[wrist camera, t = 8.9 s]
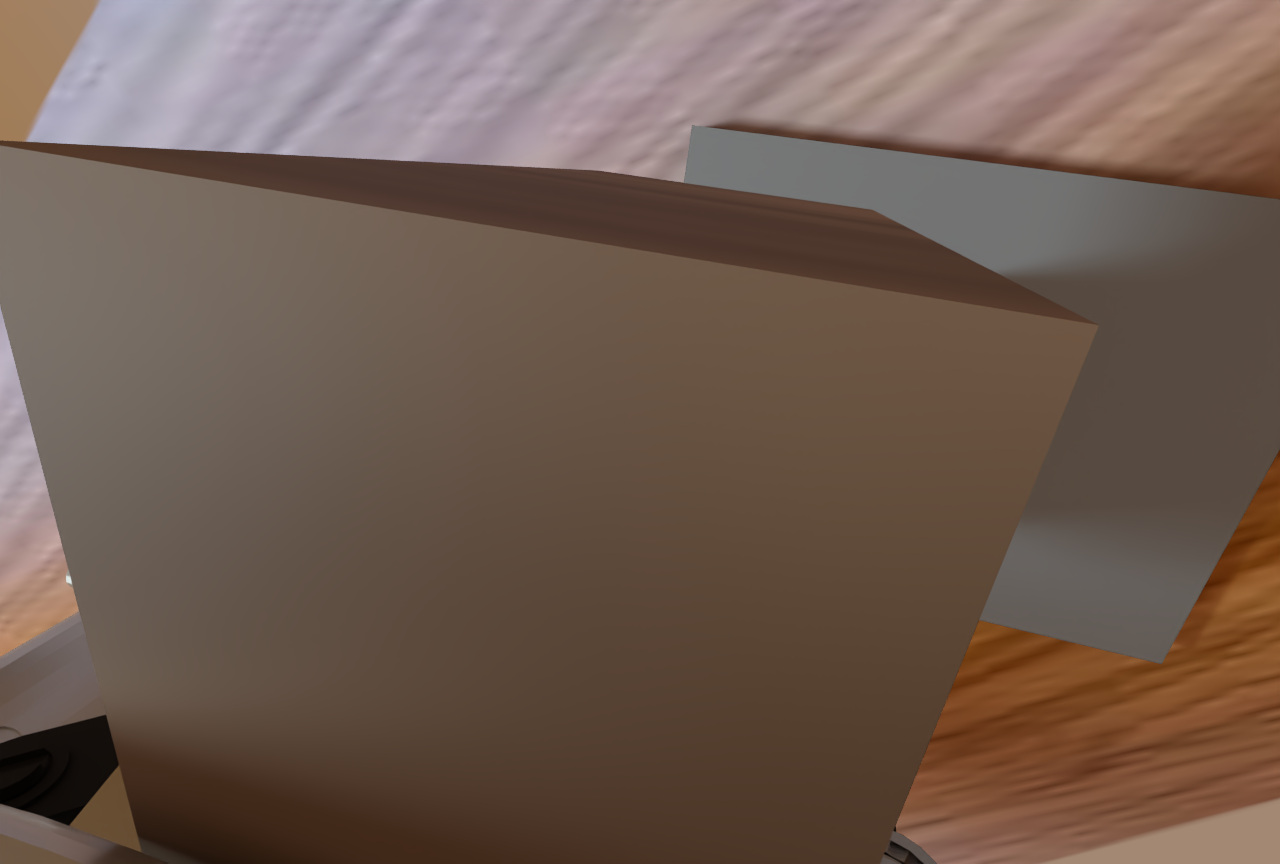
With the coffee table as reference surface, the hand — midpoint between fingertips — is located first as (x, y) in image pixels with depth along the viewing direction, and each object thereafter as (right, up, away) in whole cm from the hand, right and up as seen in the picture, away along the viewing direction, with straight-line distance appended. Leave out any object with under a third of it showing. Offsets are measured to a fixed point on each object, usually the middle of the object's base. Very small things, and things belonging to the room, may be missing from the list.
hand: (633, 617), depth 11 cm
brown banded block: (+1, +1, +3) cm, 4 cm away
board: (+12, +5, +16) cm, 21 cm away
